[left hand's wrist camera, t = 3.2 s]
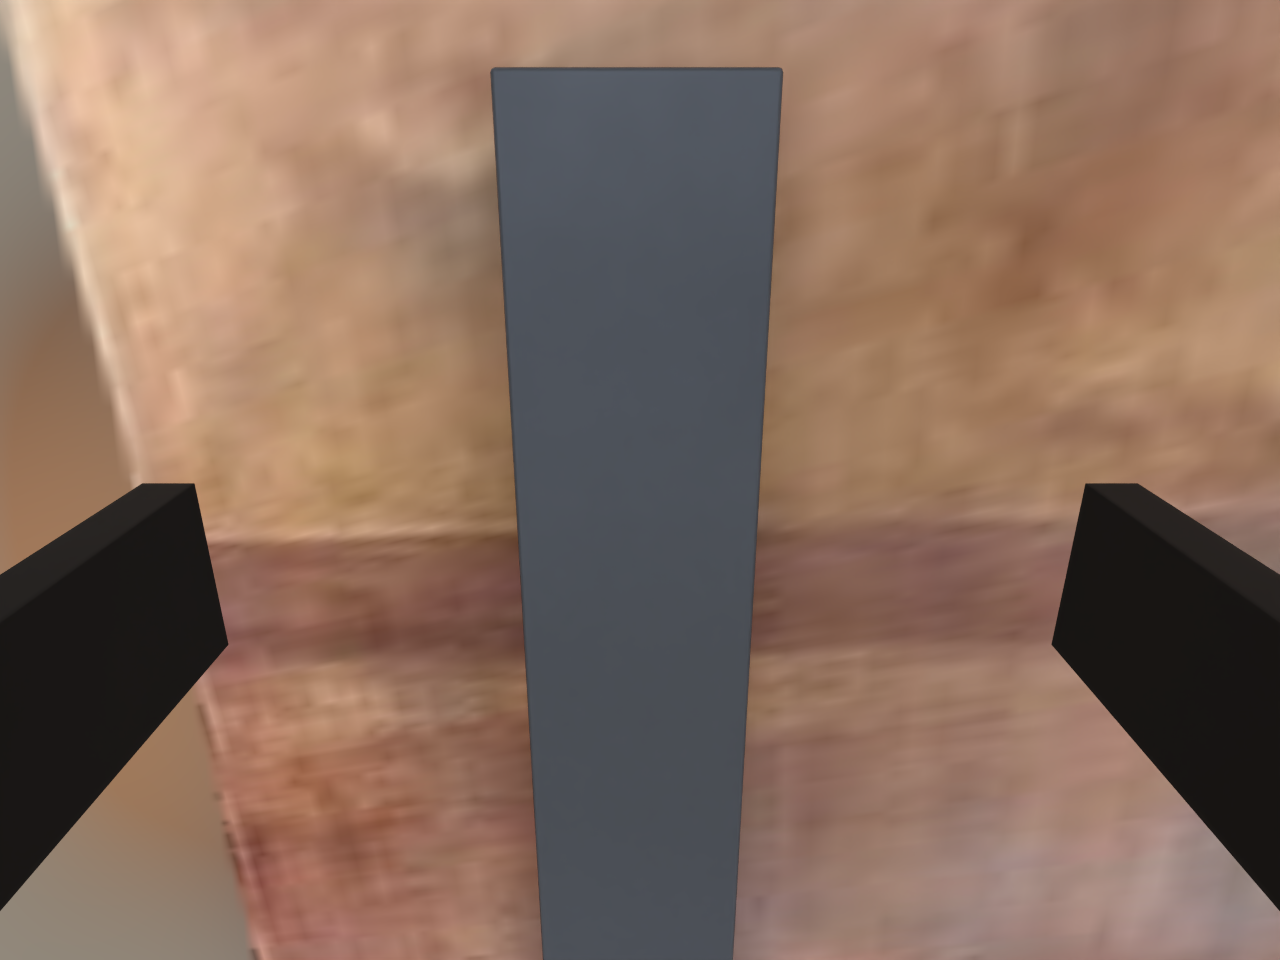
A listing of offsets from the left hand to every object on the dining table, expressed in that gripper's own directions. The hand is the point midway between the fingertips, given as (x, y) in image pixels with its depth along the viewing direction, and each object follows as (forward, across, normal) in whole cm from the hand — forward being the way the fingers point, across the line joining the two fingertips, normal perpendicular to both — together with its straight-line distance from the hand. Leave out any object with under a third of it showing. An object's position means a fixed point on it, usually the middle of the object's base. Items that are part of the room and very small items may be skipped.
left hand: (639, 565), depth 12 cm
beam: (+14, 0, -30) cm, 33 cm away
